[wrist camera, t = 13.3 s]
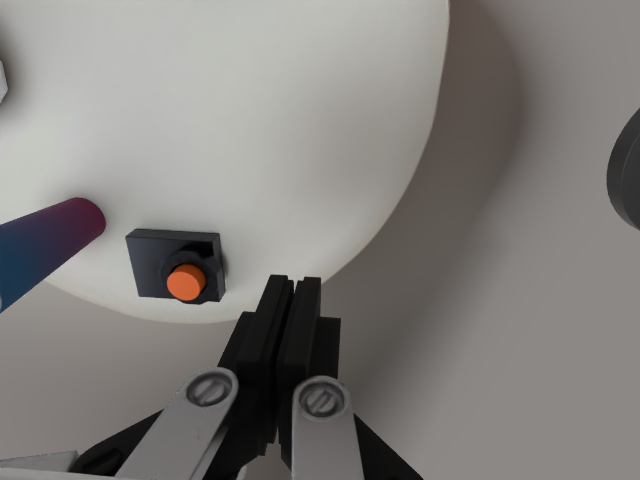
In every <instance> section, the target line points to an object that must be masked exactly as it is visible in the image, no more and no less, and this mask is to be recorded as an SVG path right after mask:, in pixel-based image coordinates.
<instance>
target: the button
mask: <svg viewBox="0 0 640 480" xmlns="http://www.w3.org/2000/svg"><path fill="white" fill-rule="evenodd" d="M205 283H206V279H205V276H204V274H203V272H202V271H201V270H200V269H199V268H197V267H196V266H194V265H190V264H183V265H180V266H178V267H177V268H176V269H175V270H174V272H173V273H172V274H171V275H170V276H169V278H168V280H167V286H168V289H169V291H170V292H171V293H172V294H173V295H174V296H175V297H177V298H179V299H181V300H192V299H195V298H196V297H197V296H198V295H199V293H200V292H201V290H202V289H203V288H204V286H205Z"/></svg>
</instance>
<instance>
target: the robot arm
mask: <svg viewBox="0 0 640 480" xmlns="http://www.w3.org/2000/svg"><path fill="white" fill-rule="evenodd" d="M320 302H321V278H319V277H304V280H303V281H299V280H298V282H297V285H296V289H295V293H294V281H293V280H288V276H287V275H270V277H269V280H268V282H267V285H266V287H265V290H264V292H263V295H262V297H261V299H260V302H259V304H258V307H257V309H256V312H246V311H244V312H242V314H241V316H240V318H239V320H238V322H237V324H236V327H235V329H234V331H233V333H232V335H231V337H230V339H229V342H228V344H227V346H226V348H225V351H224V352H223V355H222V357H221V359H220V361H219V363H218V366H217V367H211V368H206V369H203V370H200V371H198V372H196V373H195V374H193V375H192V376H190V377H189V378H188V379H187V380H186V381H185V382H184V383H183V385H182V386H181V387H180V389H179V390H178V391H177V393H176V394H175V395H174V397H173V398H172V399H171V401H170V402H169V404H168V405H167V406H166V408H165V409H163V410H161V411H159V412H157V413H155V414H153V415H151V416H149V417H148V418H146V419H144V420H142V421H140V422H138V423H136V424H134V425H132V426H130V427H128V428H126V429H125V430H123V431H121V432H119V433H117V434H115V435H113V436H111V437H109V438H107V439H105V440H104V441H102V442H100V443H98V444H96V445H94V446H93V447H91V448H90V449H88V450H87V451H86V452H84V453H83V454H82V455H78V453H77V451H67V452H59V453H51V454H43V455H36V456H28V457H20V458H11V459H3V460H0V480H243V479H244V476H245V473H246V469H247V463H249V462H250V461H252V460H253V459H254V458H256V457H257V456H258V455H261V456H265V452H266V448H267V443H272V444H273V443H274V441H275V437H276V432H277V428H278V432H279V444H281V458H282V460H283V461H284V462H285V464H286V465H287V466H288V468H289V469H290V470H291V472H292V480H423V478H422V477H421V476H420V475H419V474H418V473H417V472H416V471H415V470H414V469H413V468H412V467H411V466H409V465H408V464H407V463H406V462H405V461H404V460H403V459H402V458H401V457H400V456H399V455H398V454H397V453H396V452H395V451H393V450H392V449H391V448H390V447H389V446H388V445H387V444H386V443H385V442H384V441H383V440H382V439H381V438H380V437H379V436H377V435H376V433H374V432H373V431H372V430H371V429H370V428H369V427H368V426H367V425H366V424H365V423H363V421H362V420H361V419H360V418H359V417H357V416H356V415H355V414H354V413H353V409H352V403H351V398H350V394H349V391H348V389H347V388H346V387H345V386H344V384H343V383H341V382H340V381H338V380H337V378H338V359H339V342H340V324H341V318H331V317H320Z"/></svg>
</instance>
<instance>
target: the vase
mask: <svg viewBox="0 0 640 480" xmlns="http://www.w3.org/2000/svg"><path fill="white" fill-rule="evenodd" d="M7 91H8V87H7V82H6V78H5V73H4V69H3V64H2V62H1V60H0V103H1V101H2V100H3V98H4V96H5V94H6V93H7Z"/></svg>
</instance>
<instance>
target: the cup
mask: <svg viewBox="0 0 640 480" xmlns="http://www.w3.org/2000/svg"><path fill="white" fill-rule="evenodd" d="M104 228H105V219H104V216H103V214H102V212H101V211H100V209H99V208H98V207H97V206H96V205H95V204H93V203H92V202H90V201H88V200H86V199H83V198H73V199H69V200H67V201H64V202H61V203H59V204H56V205H53V206H50V207H48V208H45V209H42V210H39V211H37V212H34V213H31V214H29V215H26V216H23V217H20V218H18V219H15V220H12V221H9V222H7V223H4V224H1V225H0V313H1V312H3V311H4V310H5V309H7V308H8V307H9V306H10V305H12V304H13V303H14V302H15V301H17V300H18V299H19V298H21V297H22V296H23V295H24V294H26V293H27V292H28V291H29V290H31V289H32V288H33V287H34V286H35V285H37V284H38V283H40V282H41V281H42V280H43V279H45V278H46V277H47V276H48V275H50V274H51V273H52V272H54V271H55V270H56V269H57V268H59V267H60V266H61V265H62V264H64V263H65V262H66V261H67V260H69V259H70V258H71V257H73V256H74V255H75V254H76V253H78V252H79V251H80V250H81V249H83V248H84V247H85V246H87V245H88V244H89V243H90V242H92V241H93V240H94V239H95V238H97V237H98V236H99V235H100V234H102V232H103V231H104Z"/></svg>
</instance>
